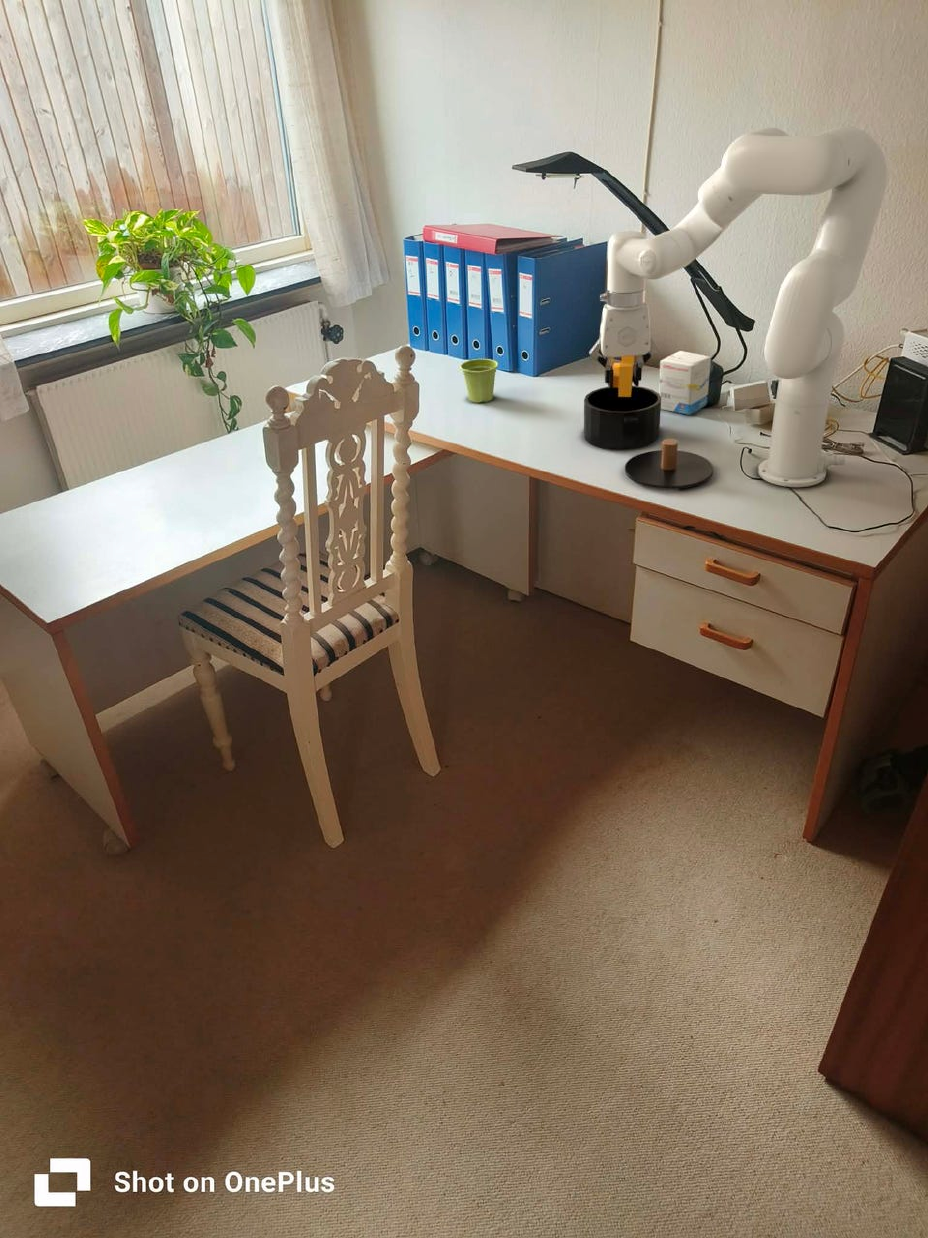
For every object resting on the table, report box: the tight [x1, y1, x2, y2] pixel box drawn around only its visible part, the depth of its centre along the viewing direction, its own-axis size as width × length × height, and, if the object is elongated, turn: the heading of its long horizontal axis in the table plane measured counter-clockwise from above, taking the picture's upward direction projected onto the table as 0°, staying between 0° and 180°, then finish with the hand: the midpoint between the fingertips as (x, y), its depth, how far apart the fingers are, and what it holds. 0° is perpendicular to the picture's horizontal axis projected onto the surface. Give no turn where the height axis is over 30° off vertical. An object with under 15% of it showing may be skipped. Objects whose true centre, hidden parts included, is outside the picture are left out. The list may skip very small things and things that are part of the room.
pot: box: [583, 385, 662, 451], centre depth 192 cm, size 16×22×8 cm
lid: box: [624, 438, 714, 490], centre depth 175 cm, size 17×17×7 cm
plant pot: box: [459, 358, 499, 403], centre depth 217 cm, size 9×9×9 cm
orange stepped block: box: [612, 356, 635, 397], centre depth 187 cm, size 12×4×6 cm, turn 168°
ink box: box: [658, 350, 712, 416], centre depth 203 cm, size 9×8×12 cm
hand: (622, 384), depth 188 cm, fingers closed on orange stepped block, 4 cm apart
